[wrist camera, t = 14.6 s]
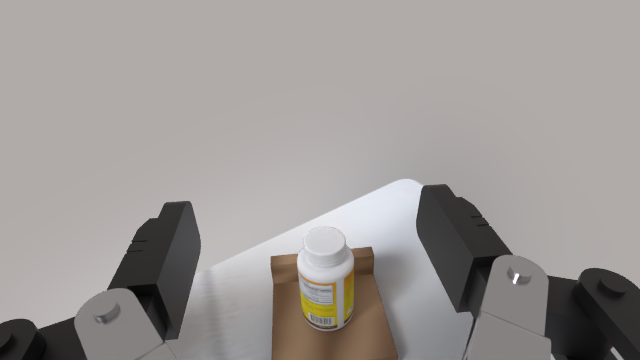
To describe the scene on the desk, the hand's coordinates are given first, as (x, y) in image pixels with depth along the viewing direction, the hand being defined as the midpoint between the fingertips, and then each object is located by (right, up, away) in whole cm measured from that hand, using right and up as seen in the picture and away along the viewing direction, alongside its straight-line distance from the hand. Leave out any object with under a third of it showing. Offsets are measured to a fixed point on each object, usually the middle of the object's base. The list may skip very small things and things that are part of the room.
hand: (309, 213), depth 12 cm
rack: (+1, -14, +27) cm, 30 cm away
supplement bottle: (+1, -13, +26) cm, 29 cm away
